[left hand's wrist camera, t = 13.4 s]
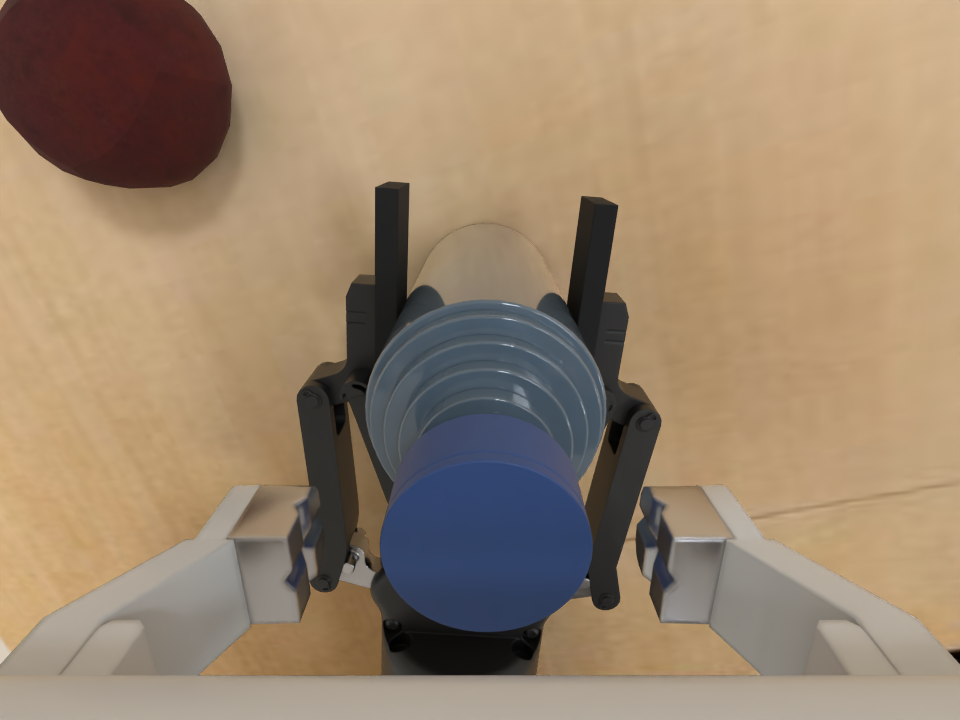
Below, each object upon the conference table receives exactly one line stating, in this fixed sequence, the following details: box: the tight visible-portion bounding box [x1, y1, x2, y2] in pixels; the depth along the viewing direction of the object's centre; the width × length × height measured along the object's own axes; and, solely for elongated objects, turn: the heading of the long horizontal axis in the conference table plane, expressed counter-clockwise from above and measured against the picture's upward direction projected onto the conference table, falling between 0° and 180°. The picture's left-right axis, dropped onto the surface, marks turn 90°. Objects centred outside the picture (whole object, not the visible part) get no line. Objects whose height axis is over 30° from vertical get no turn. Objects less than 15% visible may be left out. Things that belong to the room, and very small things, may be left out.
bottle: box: [365, 223, 606, 482], centre depth 19 cm, size 6×6×18 cm
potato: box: [0, 0, 232, 188], centre depth 21 cm, size 7×8×7 cm
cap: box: [380, 414, 593, 632], centre depth 11 cm, size 4×4×2 cm
